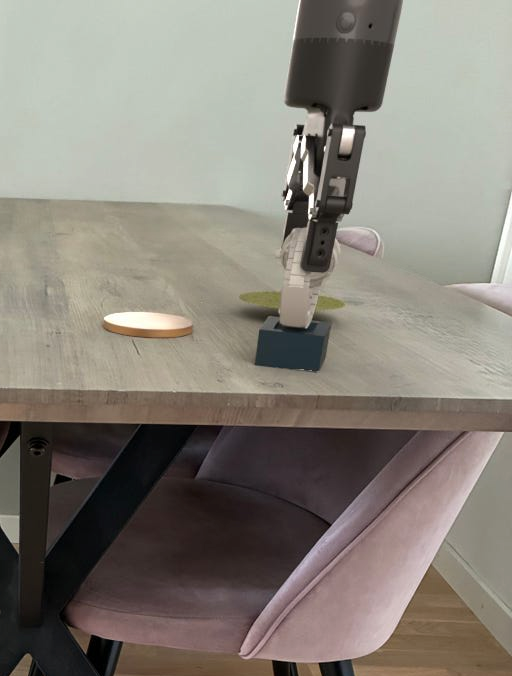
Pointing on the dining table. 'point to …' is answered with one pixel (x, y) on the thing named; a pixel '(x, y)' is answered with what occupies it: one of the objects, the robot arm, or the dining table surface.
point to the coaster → (148, 324)
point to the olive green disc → (274, 299)
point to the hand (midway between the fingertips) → (302, 265)
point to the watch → (296, 313)
